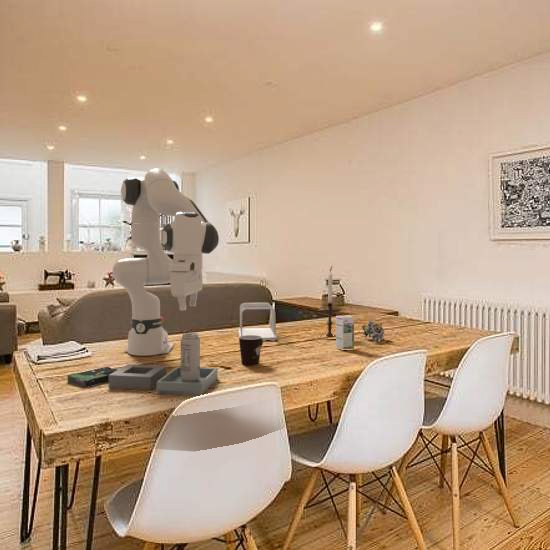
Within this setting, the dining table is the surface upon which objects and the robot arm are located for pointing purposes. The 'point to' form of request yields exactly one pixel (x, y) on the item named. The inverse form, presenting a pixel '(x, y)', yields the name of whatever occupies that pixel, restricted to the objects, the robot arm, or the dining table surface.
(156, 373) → the socket block
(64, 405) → the dining table surface
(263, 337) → the file sorter
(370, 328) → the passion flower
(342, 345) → the syrup box
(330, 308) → the candlestick
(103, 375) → the disk drive
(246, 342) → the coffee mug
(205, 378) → the parts tray
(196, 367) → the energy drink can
